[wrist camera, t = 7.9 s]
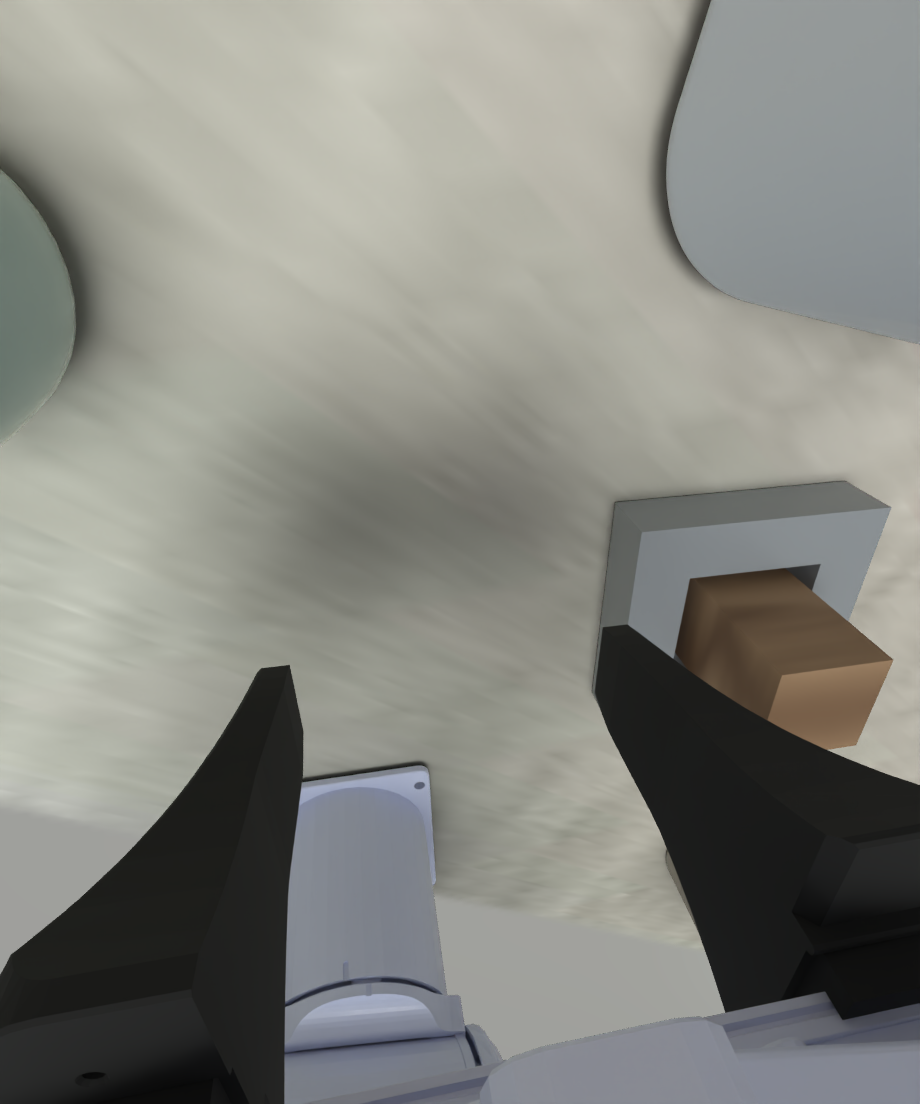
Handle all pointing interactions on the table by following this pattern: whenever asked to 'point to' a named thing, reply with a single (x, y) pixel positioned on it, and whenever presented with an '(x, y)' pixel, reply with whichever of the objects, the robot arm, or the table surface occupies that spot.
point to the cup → (30, 310)
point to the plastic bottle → (804, 159)
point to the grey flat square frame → (735, 549)
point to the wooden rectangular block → (782, 654)
